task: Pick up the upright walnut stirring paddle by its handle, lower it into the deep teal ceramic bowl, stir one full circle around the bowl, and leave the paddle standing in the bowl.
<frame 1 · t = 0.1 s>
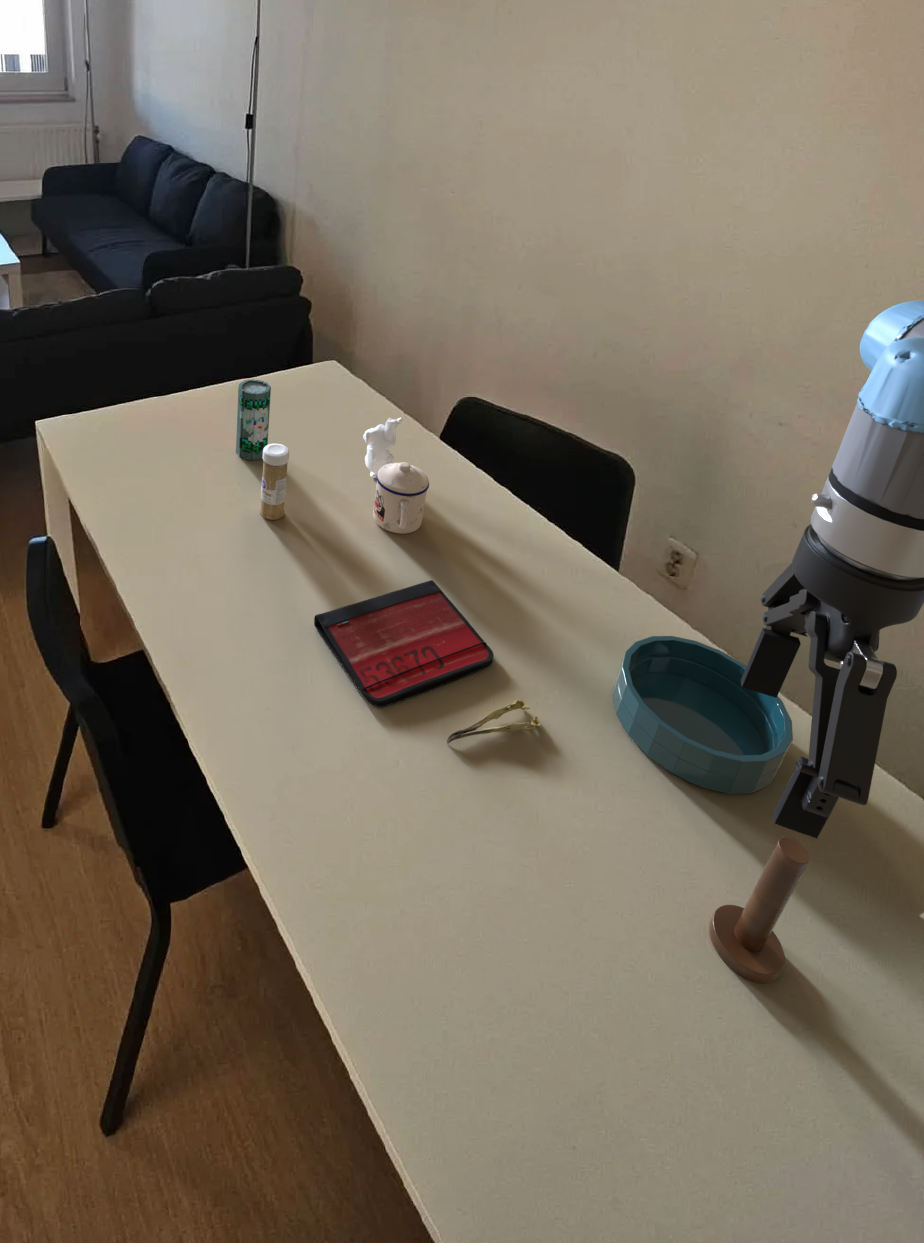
hand: (774, 752, 62), 28 cm above the table, tool pointing down, fingers open, 13 cm apart
bowl: (690, 726, 96), on the table
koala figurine: (378, 474, 146), on the table
tongs: (492, 733, 94), on the table
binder: (403, 645, 107), on the table
teacup with lid: (397, 525, 132), on the table
can: (251, 452, 152), on the table
sprinkles bottle: (272, 514, 134), on the table
stirring paddle: (743, 947, 73), on the table
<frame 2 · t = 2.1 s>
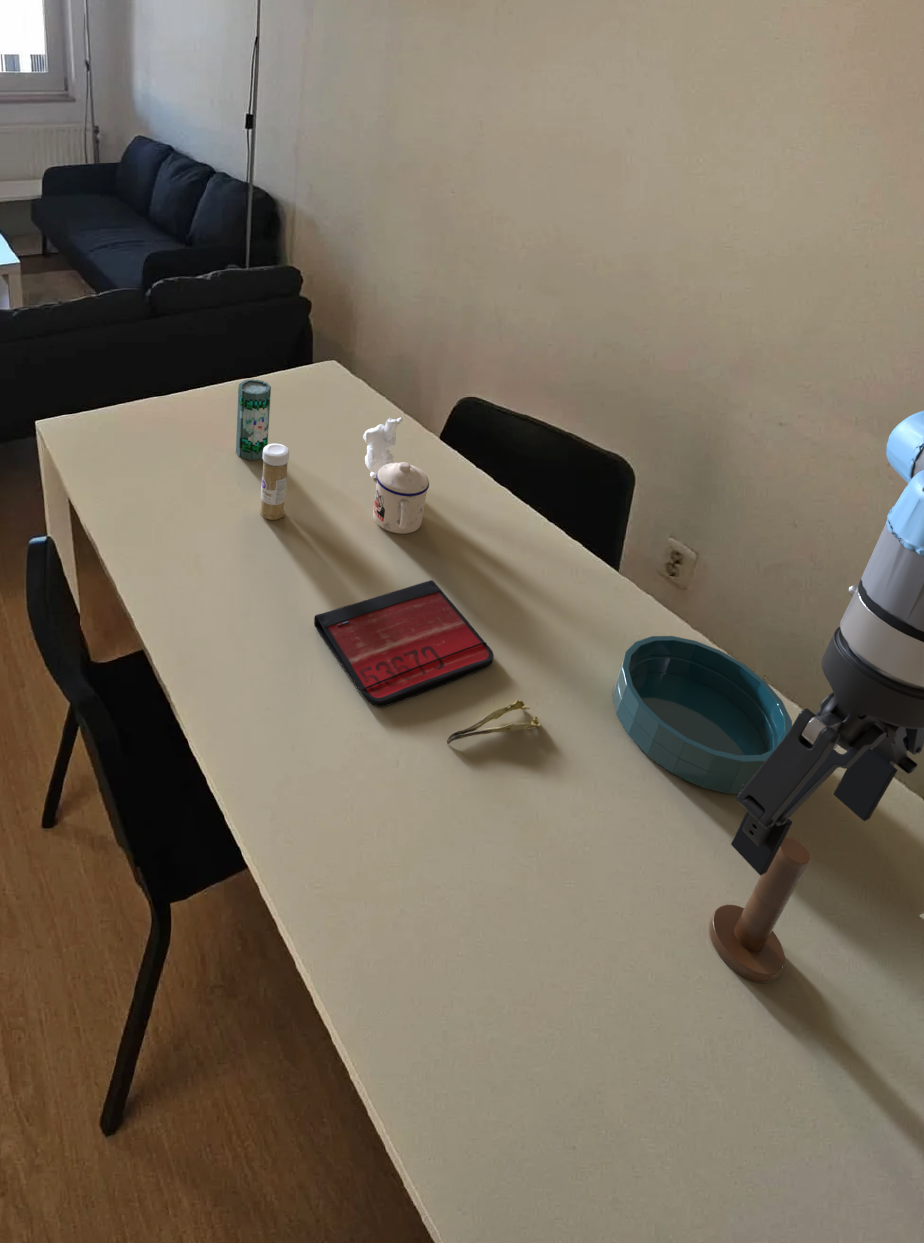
hand: (801, 831, 66), 17 cm above the table, tool pointing down, fingers open, 13 cm apart
nothing on the table moved.
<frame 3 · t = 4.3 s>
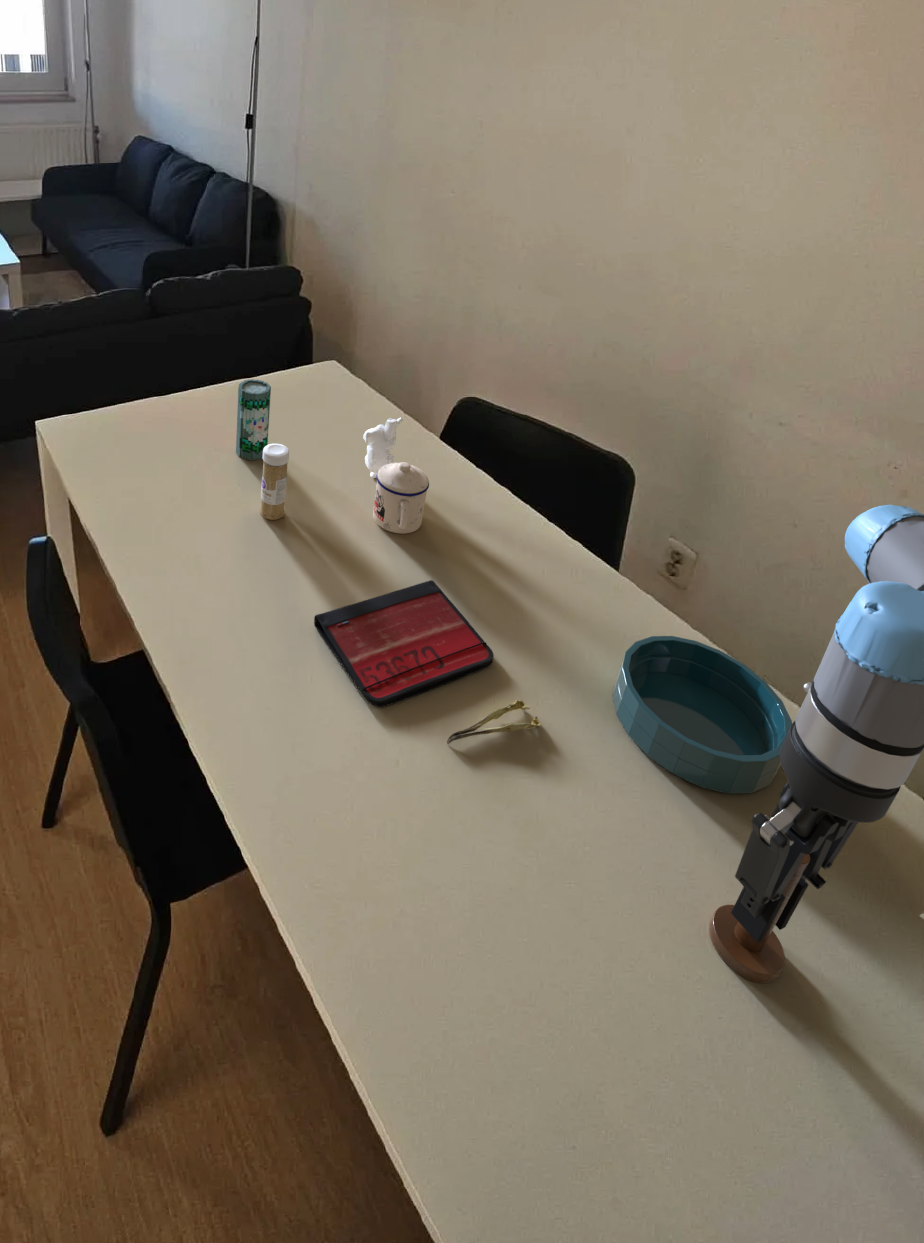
hand: (758, 919, 71), 5 cm above the table, tool pointing down, fingers closed on stirring paddle, 2 cm apart
stirring paddle: (743, 947, 73), on the table, touching gripper
everything else where it was.
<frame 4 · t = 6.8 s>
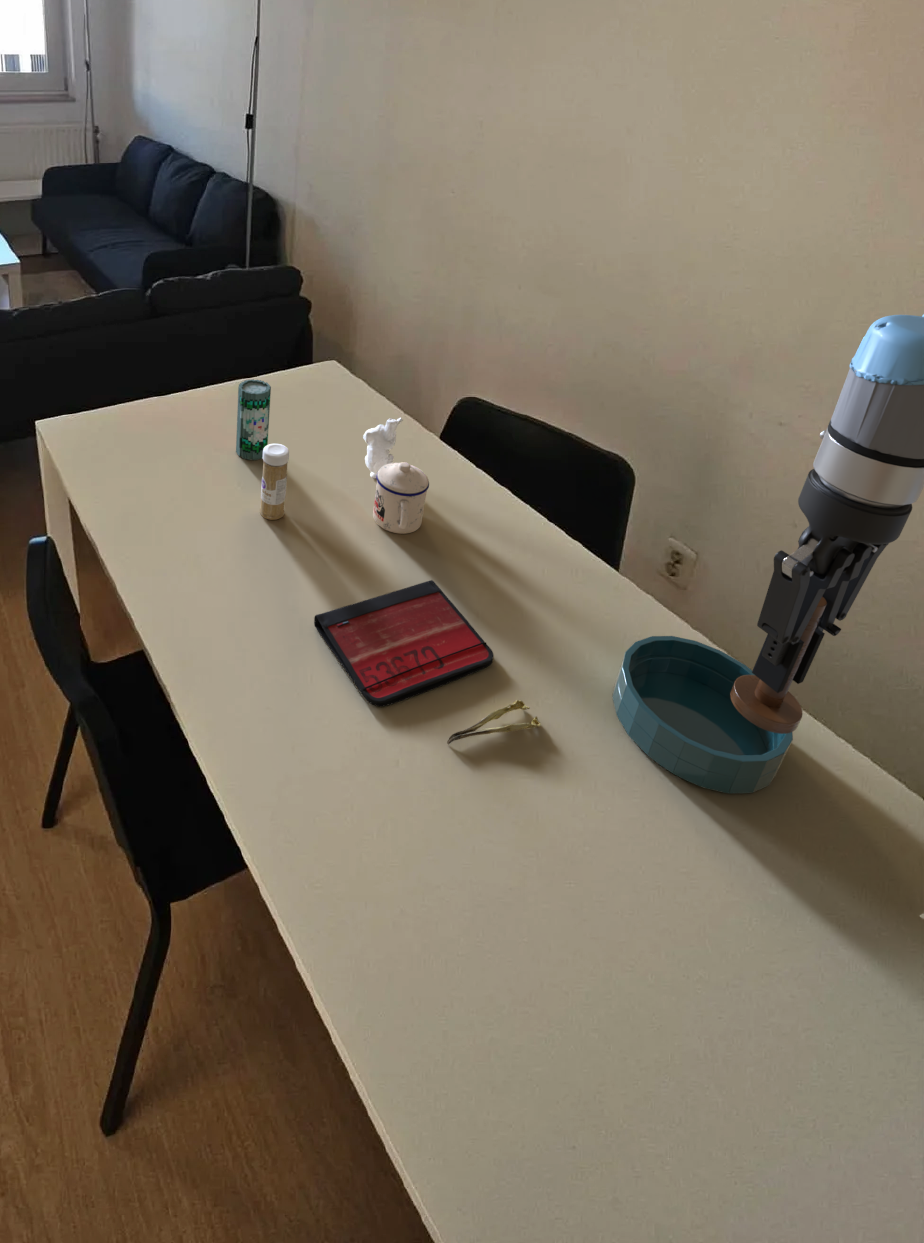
hand: (777, 676, 76), 22 cm above the table, tool pointing down, fingers closed on stirring paddle, 2 cm apart
stirring paddle: (763, 708, 78), point 18 cm above the table, touching gripper
everything else where it was.
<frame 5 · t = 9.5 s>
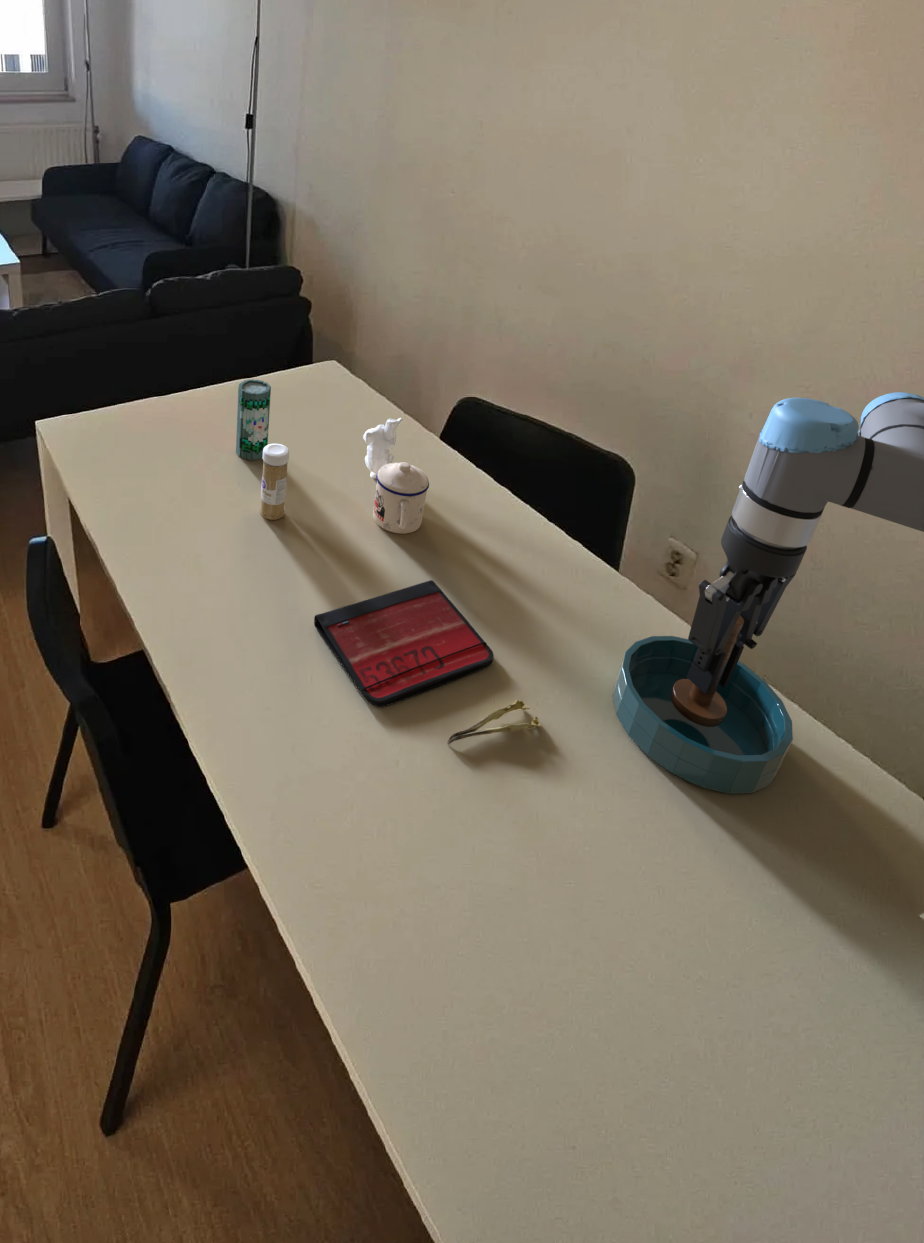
hand: (707, 681, 93), 8 cm above the table, tool pointing down, fingers closed on stirring paddle, 2 cm apart
stirring paddle: (696, 706, 95), point 3 cm above the table, touching gripper
everything else where it was.
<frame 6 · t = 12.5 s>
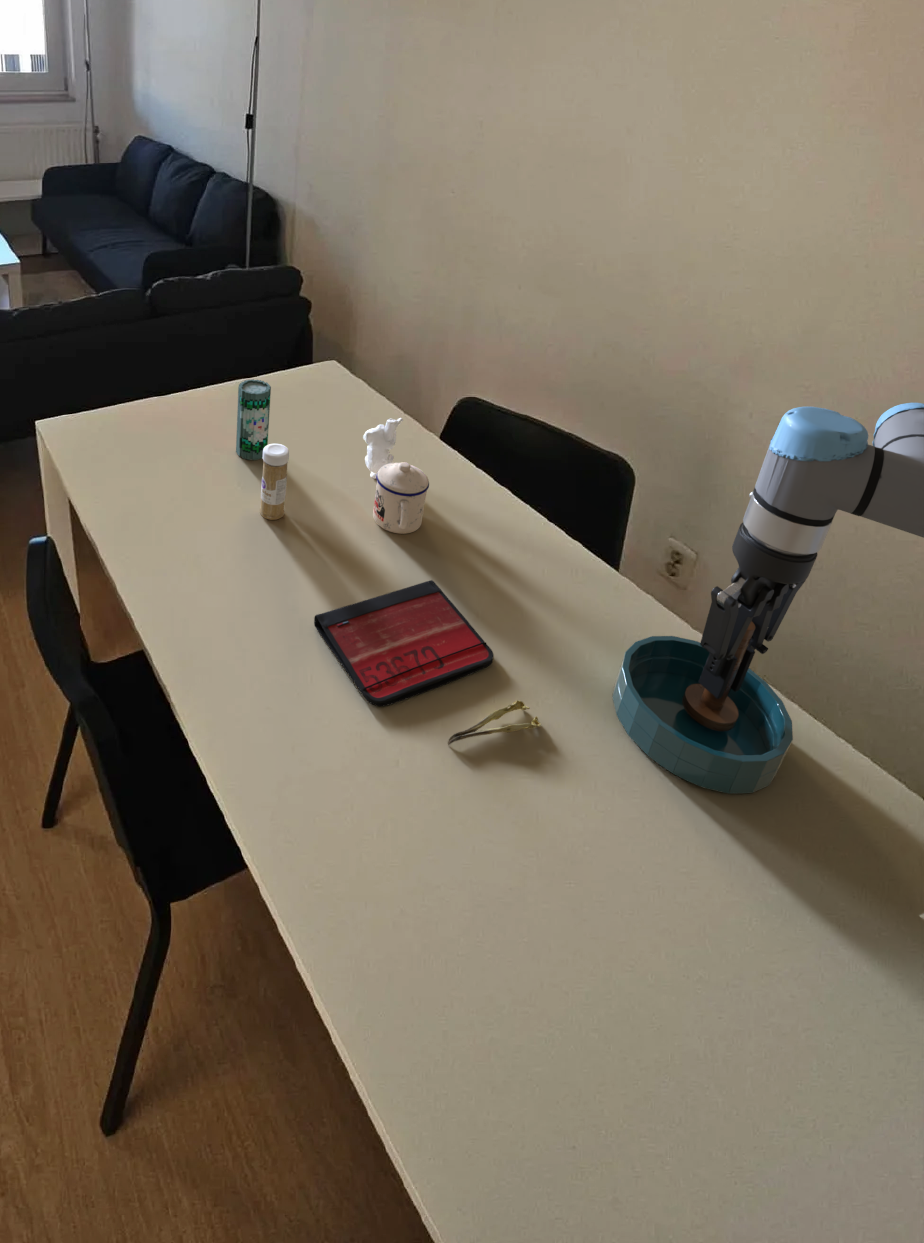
hand: (718, 685, 94), 7 cm above the table, tool pointing down, fingers closed on stirring paddle, 2 cm apart
stirring paddle: (708, 711, 96), point 2 cm above the table, touching gripper
everything else where it was.
when the fingers open (5 cm above the table, at t = 14.7 s): stirring paddle stays where it is, resting on bowl.
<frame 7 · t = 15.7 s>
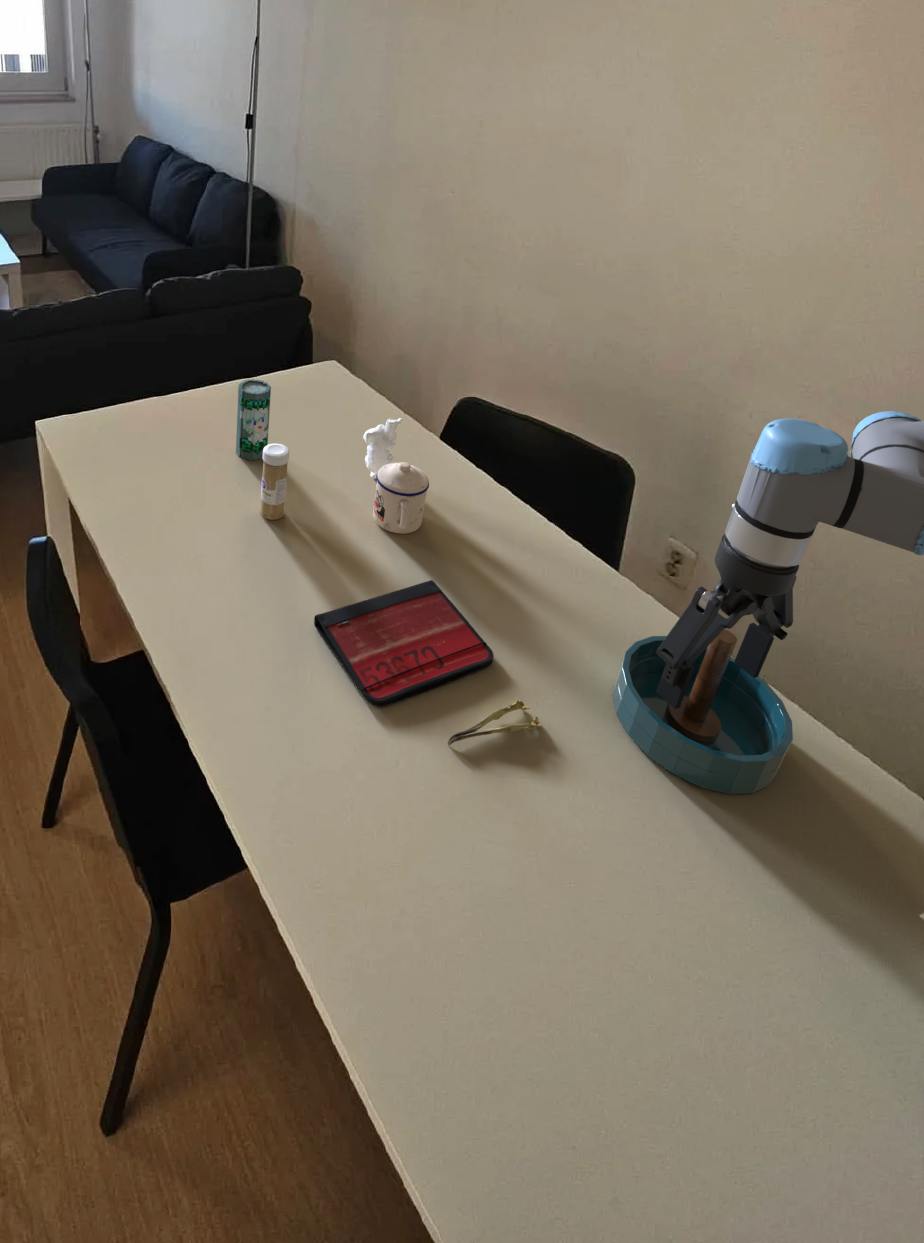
hand: (707, 684, 93), 8 cm above the table, tool pointing down, fingers open, 13 cm apart
stirring paddle: (691, 723, 96), resting on bowl
everything else where it was.
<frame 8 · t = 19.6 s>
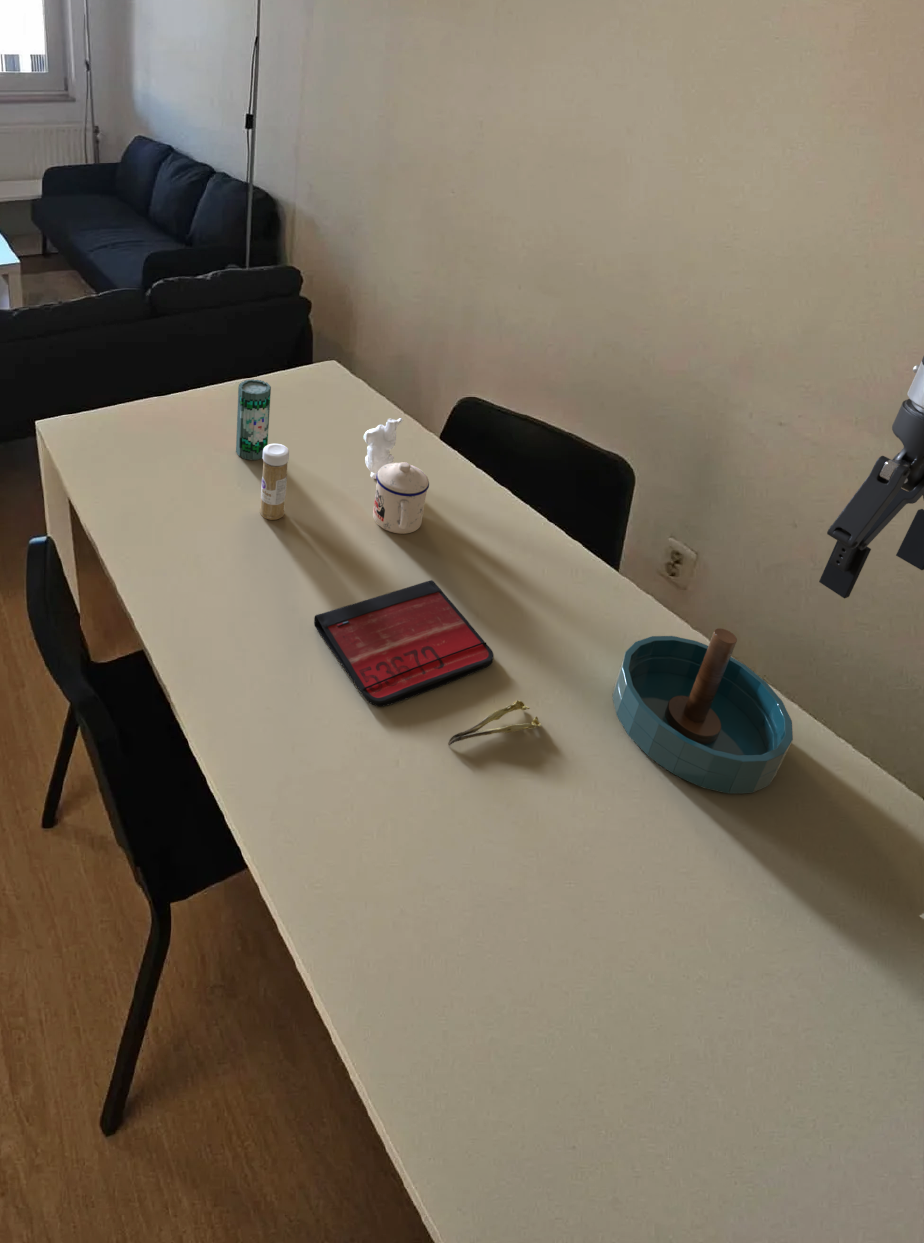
hand: (873, 575, 84), 27 cm above the table, tool pointing down, fingers open, 13 cm apart
nothing on the table moved.
at the end: stirring paddle inside the target area in the bowl (0.1 cm from its centre), point 0.5 cm above the bowl's base; stirring paddle tilted 0°; the gripper is holding nothing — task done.
